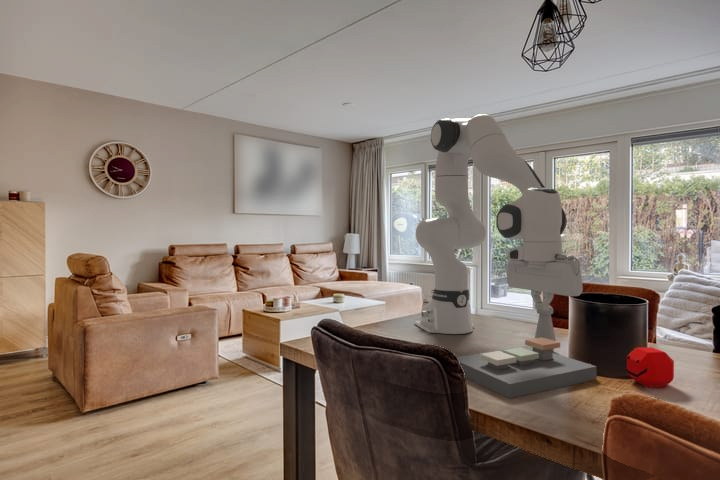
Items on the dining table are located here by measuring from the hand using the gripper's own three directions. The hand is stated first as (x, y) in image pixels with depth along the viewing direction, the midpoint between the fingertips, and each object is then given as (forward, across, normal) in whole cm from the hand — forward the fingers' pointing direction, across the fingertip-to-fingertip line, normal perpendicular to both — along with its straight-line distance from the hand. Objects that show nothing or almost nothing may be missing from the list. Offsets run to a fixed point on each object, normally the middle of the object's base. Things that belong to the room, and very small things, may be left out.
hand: (542, 309), depth 105 cm
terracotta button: (+12, 0, 0) cm, 12 cm away
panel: (+15, 0, +7) cm, 16 cm away
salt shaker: (+15, +12, -14) cm, 24 cm away
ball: (+15, -17, -14) cm, 27 cm away
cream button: (+14, 0, +14) cm, 19 cm away
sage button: (+14, 0, +7) cm, 15 cm away
